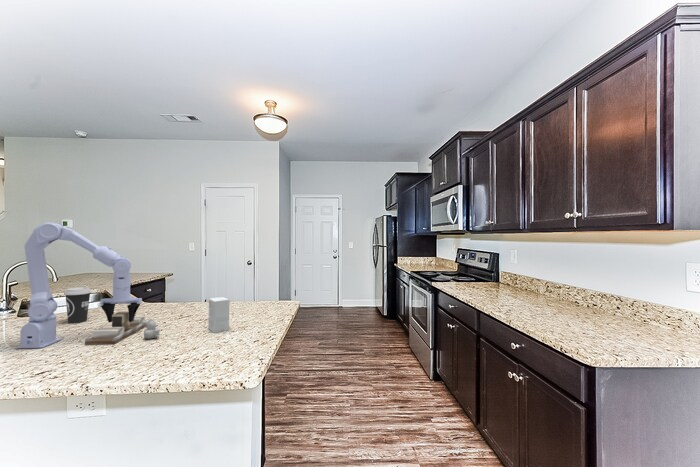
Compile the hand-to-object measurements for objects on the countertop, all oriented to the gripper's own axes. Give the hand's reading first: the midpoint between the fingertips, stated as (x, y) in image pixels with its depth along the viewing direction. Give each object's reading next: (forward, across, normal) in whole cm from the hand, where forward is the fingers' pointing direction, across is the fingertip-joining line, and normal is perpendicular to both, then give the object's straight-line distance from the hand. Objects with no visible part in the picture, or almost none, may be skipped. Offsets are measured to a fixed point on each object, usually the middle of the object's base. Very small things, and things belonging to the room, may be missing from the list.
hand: (121, 321), depth 129 cm
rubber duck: (+5, -15, +7) cm, 17 cm away
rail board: (+5, 0, 0) cm, 5 cm away
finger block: (+4, 0, 0) cm, 4 cm away
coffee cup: (+5, +29, -20) cm, 36 cm away
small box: (+5, -37, -3) cm, 37 cm away
